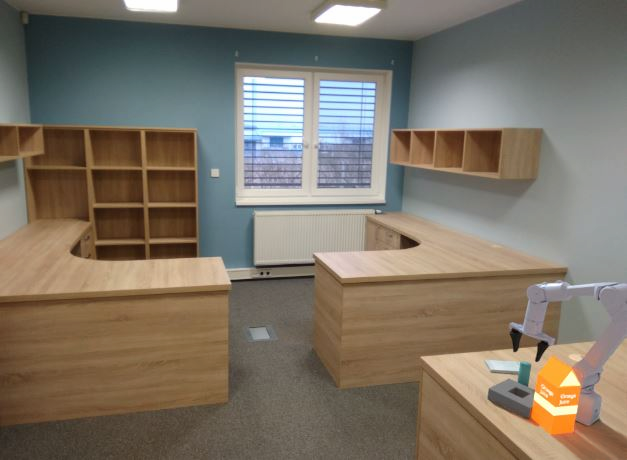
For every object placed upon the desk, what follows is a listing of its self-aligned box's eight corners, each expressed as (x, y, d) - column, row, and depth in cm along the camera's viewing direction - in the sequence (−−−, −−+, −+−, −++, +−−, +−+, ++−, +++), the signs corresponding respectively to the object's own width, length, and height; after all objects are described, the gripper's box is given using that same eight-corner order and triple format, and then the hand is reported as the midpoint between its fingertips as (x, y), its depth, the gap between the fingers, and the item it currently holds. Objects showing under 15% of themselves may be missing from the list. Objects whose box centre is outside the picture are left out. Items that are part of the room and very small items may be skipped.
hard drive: (518, 361, 188) (484, 358, 189) (526, 371, 180) (490, 369, 181) (517, 365, 189) (483, 362, 189) (525, 376, 181) (490, 373, 181)
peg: (530, 386, 172) (533, 364, 170) (524, 389, 170) (528, 367, 168) (520, 382, 175) (523, 360, 173) (515, 385, 172) (518, 363, 171)
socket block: (548, 406, 159) (550, 396, 159) (528, 418, 152) (530, 408, 151) (507, 388, 170) (508, 378, 169) (487, 398, 162) (488, 388, 162)
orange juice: (550, 434, 144) (560, 369, 140) (530, 417, 153) (539, 355, 149) (573, 432, 146) (584, 368, 142) (552, 415, 155) (562, 354, 151)
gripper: (561, 324, 164) (552, 362, 168) (519, 308, 174) (511, 344, 178) (552, 329, 159) (543, 368, 163) (509, 312, 170) (501, 349, 173)
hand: (526, 356), depth 170 cm, fingers open, 7 cm apart
